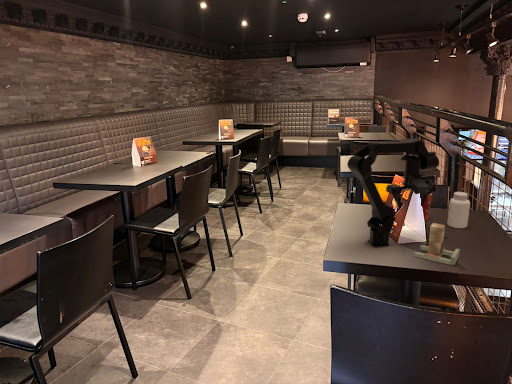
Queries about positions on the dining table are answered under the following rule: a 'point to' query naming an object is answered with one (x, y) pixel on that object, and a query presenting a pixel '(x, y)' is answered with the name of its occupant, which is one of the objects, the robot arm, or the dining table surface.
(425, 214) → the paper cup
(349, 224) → the dining table surface
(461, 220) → the pill bottle
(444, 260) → the sage rail
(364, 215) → the dining table surface
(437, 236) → the birch finger
